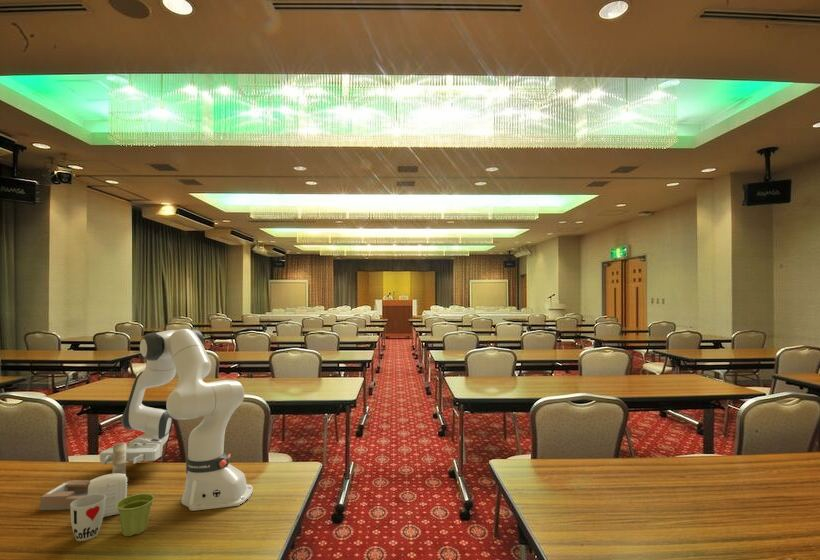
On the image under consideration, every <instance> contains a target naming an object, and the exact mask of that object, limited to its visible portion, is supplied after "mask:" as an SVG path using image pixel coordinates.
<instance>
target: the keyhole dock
mask: <svg viewBox="0 0 820 560" xmlns="http://www.w3.org/2000/svg"><path fill="white" fill-rule="evenodd" d="M90 480H91V479H84V480H83V479H82V480H78V479H76V480H67V481H65V482H63V483H61V484H60V485H58V486H57V487H55V488H53V489H51V490H50V491H48V492H46V493H44V494H43V495H42V496H40V499H39V500H40V503H39V504H40V505H39V511H56V510H57V511H58V510H60V511H62V510H71V509H70V504H71V503H72V502H73V501H74V500H76V499H78V498H81V497H84V496H88V486H89V484H90Z"/></svg>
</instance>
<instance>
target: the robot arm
mask: <svg viewBox="0 0 820 560" xmlns="http://www.w3.org/2000/svg"><path fill="white" fill-rule="evenodd" d="M204 344H205V340H204V336H203V333H202V332H201V331H200V330H199V329H195V328H181V329H169V330H168V329H167V330H163V331H158V332H149V333H147V334H145V335H143V336H142V338H141V340H140V344H139V351H140V354H141V357H142V358H143V359H144V360H146V363H145V367H144V370H143V371H140V372H139V373H138V375H136V377H135V379H134V382H133V385H132V386H131V390H130V394H129V397H128V400H127V403H126V407H125V409H124V411H123V413H122V414H121V419H120V422H121V424H122V427H123V428H124V429H125V430H131V431H139V432H144V433H143V434H141V435H139V436H137V437H136V438H134V439H132V440H131V441H129V443H127V444H126V463H127V462H129V464H130V465H132V464H133V465H134V464H136V463H140V462H153V461H156V460H157V459H159V458H160V457H162V455H163V447H164V445H165V444H166V442H168V439H169V436H170V432H171V430H172V429H171V428H172V426H173V419H174V420H193V419H196V418H202V417H203V418H202V420H201V422H200V423H199V424H198V425H197V426H196V427H195V428H193V429H192V430H191V432H190V433H189V435H188V443H187V444H188V446H187V447H188V448H187V450H188V451H187V452H188V453H187V457H186V464H185V473H186V480H185V485H184V491H183V495H182V498H181V500H180V501H181V504H182V505H183V506H185V507H186V508H188V509H189V511H192V512H193V511H201V510H202V511H203V510H211V509H213V510H214V509H221V508H231V507H238V506H240V504H241V505H242V503H243V504H244V503H246V502H247V501H248V500H249V499H250V498H251V497H252V495H251V494H253V493H252V492H254V488H253V486H252V484H248V483H247V479H246V475H245V473H244V472H243V471H241V470H240V469H238V468H237V467H235V466H234V465H232V463H230V459H231V453H229V454H228V455H227V453H226V452H224V448H225V447H224V446H225V434H226V433H225V432H226V428H227V425H228V422H229V421H230V419H231V417H232V415H233V414H234V412H235V411H236V410H237V408H239V407H240V406H241V405H242V403H243V401H244V398H245V388H244V386H243V384H242V383H241V382H239V381H238V380H233V379H222V380H216V381H210V382H209V381H208V382H206V381H204V379H205V378H206V377H208V375H209V374H210V372H211V371H212V362H211V360H210V357H209V355H208V352H207V351H206V349H205V347H204ZM176 375H177V380H178V381H177V385H176V386H175V388H174V389H173V390H172V391H171V392H170V394H169V395H168V397H167V398H166V409H163V408H155V407H150V406H147V405H144V404H143V399H144V396H145V393H146V390H147V389H151V388H156V387H161V386H164V385H167V384H168V383H170V382H171V381H172V380H173V379H174V378H175V376H176ZM99 462H100V463H102V464H103V465H109V464H110V463H113V446H111V447H109V448H106V449H104V450H102V451H101V452H100V453H99ZM249 497H250V498H249ZM247 499H248V500H247ZM246 500H247V501H246ZM245 501H246V502H245Z"/></svg>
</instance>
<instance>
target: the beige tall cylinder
mask: <svg viewBox="0 0 820 560" xmlns="http://www.w3.org/2000/svg"><path fill="white" fill-rule="evenodd" d="M126 446H127V442H118V443H115V444H113V446H112V447H113V462H112V474H114V473H122V474H126V473H127V462H126ZM126 477H127V482H128V481H130V477H129V476H127V474H126ZM128 483H129V482H128Z"/></svg>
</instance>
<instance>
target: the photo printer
mask: <svg viewBox="0 0 820 560" xmlns="http://www.w3.org/2000/svg"><path fill="white" fill-rule="evenodd" d="M126 476H127V474H122V473H114V474H113V473H108V474H104V475H100V476H97V477H95V478H92V479H89V480H90V484H89V486H88V495H93V494H103V495H105V496H106V499H105V508H104V515H103V518H105V517H110V516H113V515H114V516H115V515H120V513H119V511H118V508H117V507H116V504H117V503H118V502H119V501H120V500H122V499H124V498H126V497H128V483H127V477H128V476H127V477H126Z"/></svg>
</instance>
